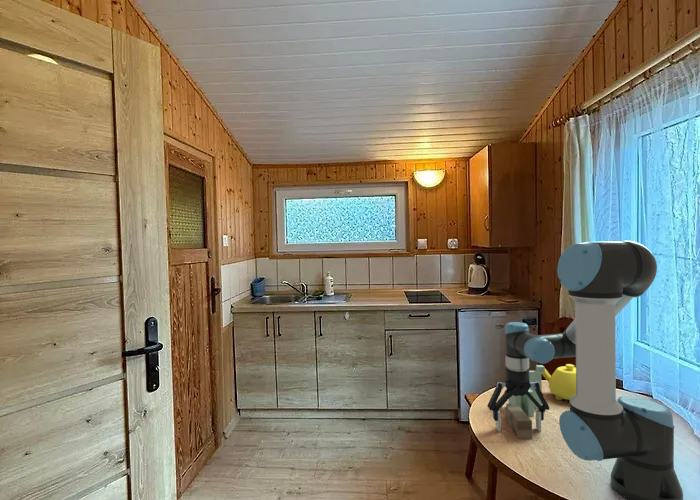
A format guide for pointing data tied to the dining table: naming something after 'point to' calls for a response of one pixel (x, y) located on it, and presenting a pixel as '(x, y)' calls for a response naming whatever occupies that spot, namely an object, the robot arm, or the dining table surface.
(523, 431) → the rail
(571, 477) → the dining table surface
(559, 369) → the teapot
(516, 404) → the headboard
